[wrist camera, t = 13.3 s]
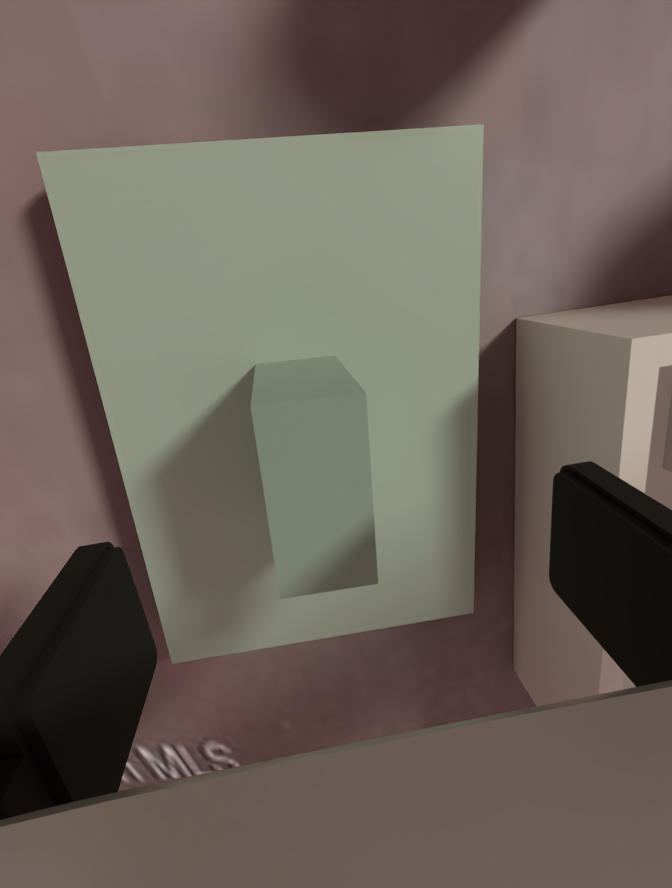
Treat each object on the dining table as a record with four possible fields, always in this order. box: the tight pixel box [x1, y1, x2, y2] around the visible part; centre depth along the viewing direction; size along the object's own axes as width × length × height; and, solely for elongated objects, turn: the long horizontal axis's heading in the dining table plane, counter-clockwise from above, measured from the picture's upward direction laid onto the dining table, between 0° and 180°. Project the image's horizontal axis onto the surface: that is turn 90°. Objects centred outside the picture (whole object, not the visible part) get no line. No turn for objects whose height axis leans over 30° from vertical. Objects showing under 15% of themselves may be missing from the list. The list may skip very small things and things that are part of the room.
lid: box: [36, 124, 484, 664], centre depth 17 cm, size 14×20×8 cm
